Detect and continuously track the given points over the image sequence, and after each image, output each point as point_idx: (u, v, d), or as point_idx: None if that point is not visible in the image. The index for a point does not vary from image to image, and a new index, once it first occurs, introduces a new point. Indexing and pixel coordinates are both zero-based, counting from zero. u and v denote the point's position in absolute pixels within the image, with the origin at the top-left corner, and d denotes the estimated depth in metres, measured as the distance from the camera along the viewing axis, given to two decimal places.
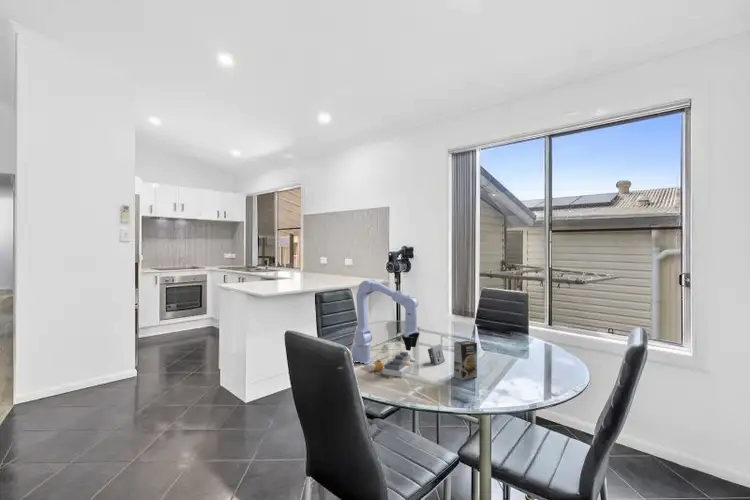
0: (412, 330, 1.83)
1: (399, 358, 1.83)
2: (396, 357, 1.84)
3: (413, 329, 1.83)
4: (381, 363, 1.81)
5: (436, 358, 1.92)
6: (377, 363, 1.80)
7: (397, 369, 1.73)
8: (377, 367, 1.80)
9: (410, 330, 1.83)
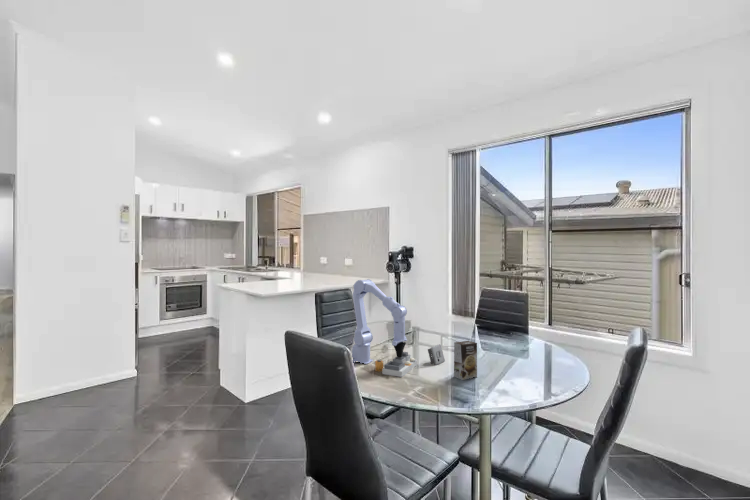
0: (400, 339, 1.83)
1: None
2: None
3: (401, 338, 1.83)
4: (381, 363, 1.81)
5: (436, 358, 1.92)
6: (377, 363, 1.80)
7: (397, 369, 1.73)
8: (377, 367, 1.80)
9: (398, 339, 1.83)
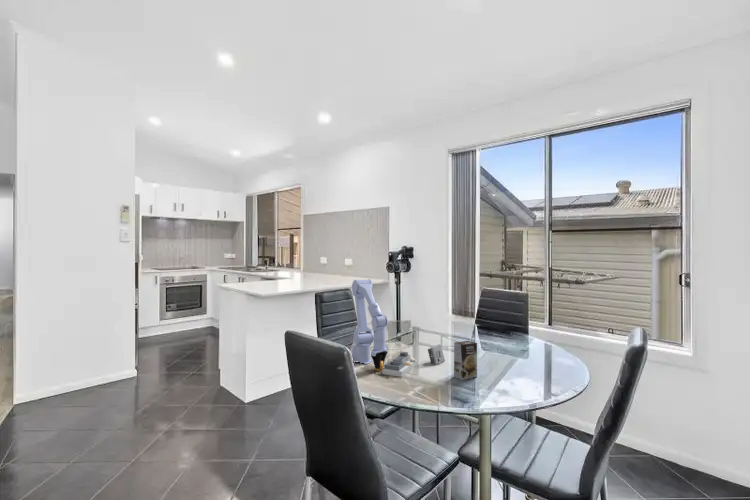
0: (380, 349, 1.80)
1: None
2: None
3: (381, 348, 1.80)
4: (381, 363, 1.81)
5: (436, 358, 1.92)
6: None
7: (397, 369, 1.73)
8: None
9: (378, 349, 1.80)
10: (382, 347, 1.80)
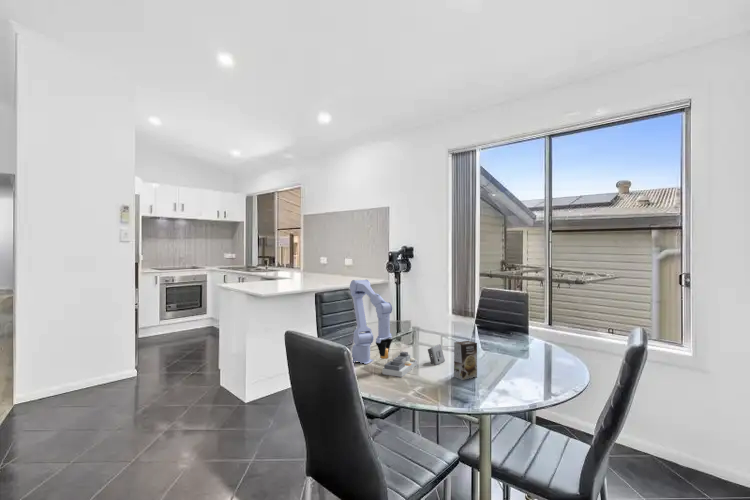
0: (385, 336, 1.78)
1: None
2: None
3: (386, 335, 1.79)
4: (386, 350, 1.79)
5: (436, 358, 1.92)
6: None
7: (397, 369, 1.73)
8: None
9: (383, 336, 1.78)
10: (387, 334, 1.79)
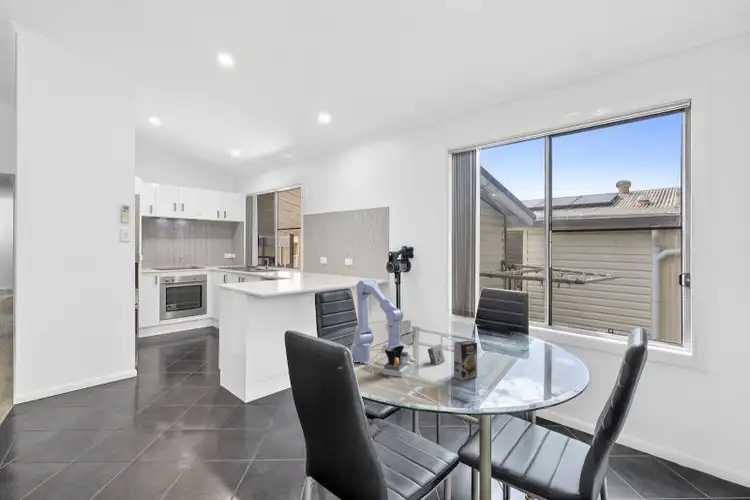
0: (396, 343, 1.76)
1: None
2: None
3: (397, 342, 1.76)
4: (397, 360, 1.77)
5: (436, 358, 1.92)
6: None
7: (397, 369, 1.73)
8: None
9: (393, 343, 1.76)
10: (398, 342, 1.76)
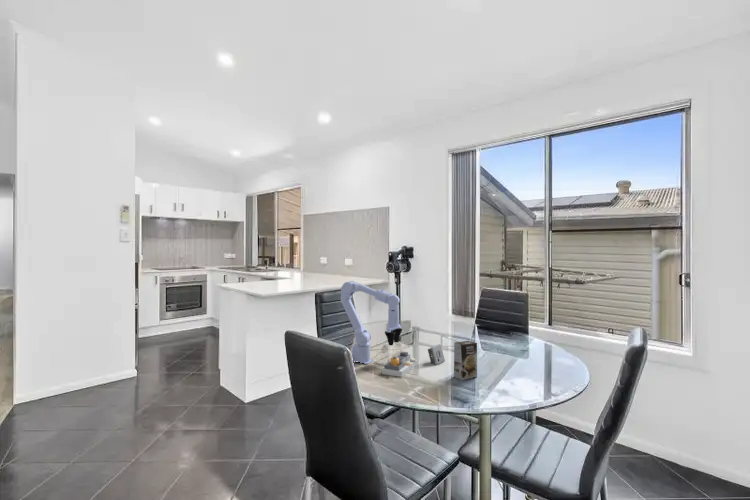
0: (394, 326, 1.92)
1: None
2: None
3: (395, 325, 1.92)
4: (397, 360, 1.76)
5: (436, 358, 1.92)
6: (393, 360, 1.76)
7: (397, 369, 1.73)
8: (393, 364, 1.76)
9: (393, 326, 1.92)
10: (396, 324, 1.92)
